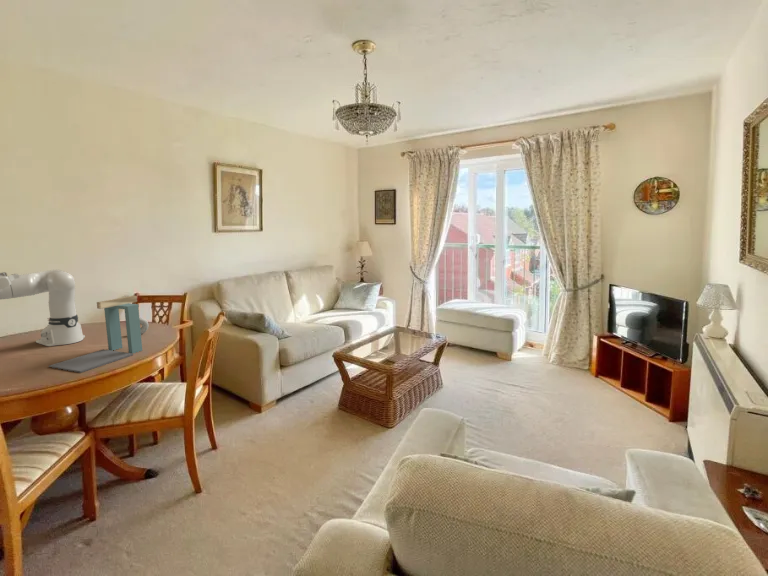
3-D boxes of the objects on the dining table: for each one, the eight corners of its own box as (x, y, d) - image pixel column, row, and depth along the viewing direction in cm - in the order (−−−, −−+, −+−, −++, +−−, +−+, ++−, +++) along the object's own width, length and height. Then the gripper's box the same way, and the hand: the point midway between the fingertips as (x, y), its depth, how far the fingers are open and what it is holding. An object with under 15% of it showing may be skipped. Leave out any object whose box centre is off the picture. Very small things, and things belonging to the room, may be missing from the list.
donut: (129, 336, 225) (128, 319, 224) (129, 335, 228) (127, 318, 226) (149, 333, 231) (148, 317, 230) (148, 332, 234) (147, 315, 233)
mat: (48, 367, 176) (48, 365, 176) (103, 350, 199) (103, 349, 199) (80, 372, 170) (80, 371, 170) (133, 355, 193) (133, 353, 193)
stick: (97, 308, 186) (96, 302, 186) (133, 301, 204) (133, 295, 204) (101, 308, 186) (100, 302, 185) (137, 301, 204) (136, 295, 203)
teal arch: (108, 350, 200) (103, 304, 196) (119, 347, 205) (114, 302, 202) (132, 354, 195) (127, 306, 191) (142, 350, 200) (138, 304, 197)
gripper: (-41, 292, 154) (2, 280, 166) (-16, 297, 146) (28, 283, 157) (-49, 277, 152) (-5, 265, 163) (-24, 281, 143) (21, 268, 155)
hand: (11, 274), depth 160 cm, fingers open, 8 cm apart
